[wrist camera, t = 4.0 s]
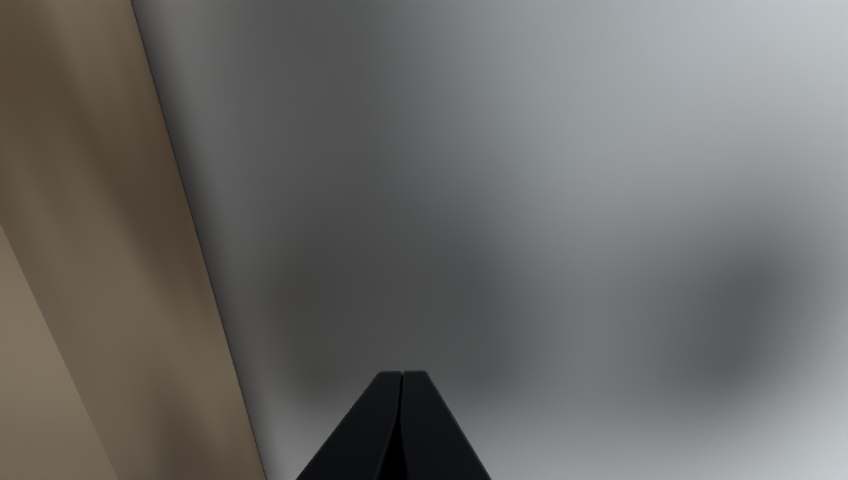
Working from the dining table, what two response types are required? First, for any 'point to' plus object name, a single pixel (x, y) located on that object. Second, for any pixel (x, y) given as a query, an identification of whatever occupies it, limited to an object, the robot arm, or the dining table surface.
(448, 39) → the dining table surface
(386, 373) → the robot arm
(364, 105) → the dining table surface
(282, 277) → the dining table surface
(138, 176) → the tongs jaw
